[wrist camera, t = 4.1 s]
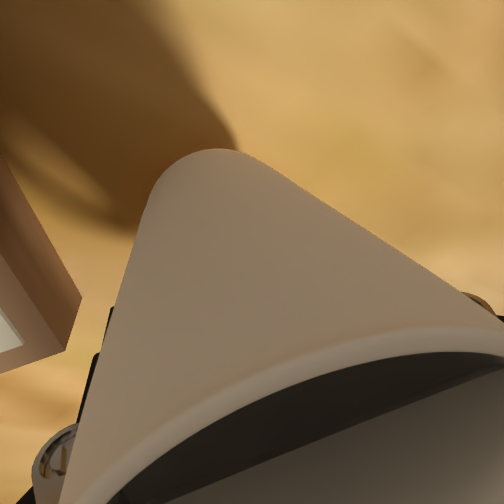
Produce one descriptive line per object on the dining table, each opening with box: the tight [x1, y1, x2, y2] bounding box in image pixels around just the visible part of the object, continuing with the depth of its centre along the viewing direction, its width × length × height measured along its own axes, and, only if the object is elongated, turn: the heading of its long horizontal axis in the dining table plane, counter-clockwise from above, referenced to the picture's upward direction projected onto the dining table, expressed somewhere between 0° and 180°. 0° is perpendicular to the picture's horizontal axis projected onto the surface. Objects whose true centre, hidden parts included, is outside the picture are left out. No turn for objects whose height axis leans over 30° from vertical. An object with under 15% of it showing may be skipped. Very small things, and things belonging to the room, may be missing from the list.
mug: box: [59, 148, 504, 504], centre depth 10 cm, size 10×7×12 cm, turn 175°
